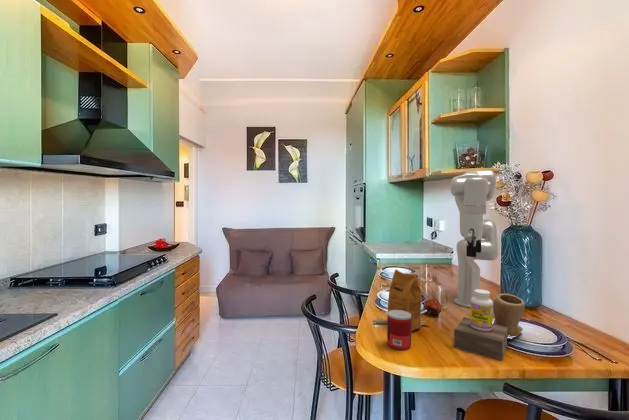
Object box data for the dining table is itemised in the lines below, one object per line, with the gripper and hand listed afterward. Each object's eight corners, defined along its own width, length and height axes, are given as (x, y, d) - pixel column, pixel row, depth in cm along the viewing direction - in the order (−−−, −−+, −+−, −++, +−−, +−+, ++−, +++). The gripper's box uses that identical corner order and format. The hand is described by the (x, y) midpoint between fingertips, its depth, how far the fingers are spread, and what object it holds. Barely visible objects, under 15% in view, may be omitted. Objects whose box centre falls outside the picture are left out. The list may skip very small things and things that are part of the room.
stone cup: (517, 346, 101) (518, 303, 100) (480, 334, 110) (481, 294, 110) (532, 334, 110) (533, 295, 109) (497, 324, 119) (497, 287, 119)
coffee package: (401, 318, 125) (401, 267, 124) (424, 329, 114) (425, 273, 113) (383, 323, 120) (383, 269, 119) (406, 335, 109) (406, 276, 108)
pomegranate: (438, 324, 124) (449, 306, 129) (430, 312, 123) (441, 294, 127) (424, 320, 131) (434, 303, 135) (416, 308, 129) (427, 292, 133)
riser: (463, 332, 111) (464, 317, 111) (507, 344, 102) (508, 327, 102) (454, 346, 100) (454, 329, 100) (502, 360, 91) (502, 341, 91)
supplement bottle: (467, 327, 101) (468, 291, 101) (473, 322, 106) (474, 287, 106) (489, 333, 97) (490, 295, 96) (494, 327, 101) (495, 291, 101)
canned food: (415, 348, 99) (416, 316, 98) (394, 352, 96) (395, 319, 96) (402, 338, 106) (403, 308, 106) (383, 341, 104) (383, 310, 103)
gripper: (468, 208, 121) (468, 249, 122) (458, 211, 107) (457, 257, 108) (489, 209, 116) (488, 251, 117) (481, 211, 102) (480, 260, 103)
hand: (474, 254), depth 113 cm, fingers open, 9 cm apart
